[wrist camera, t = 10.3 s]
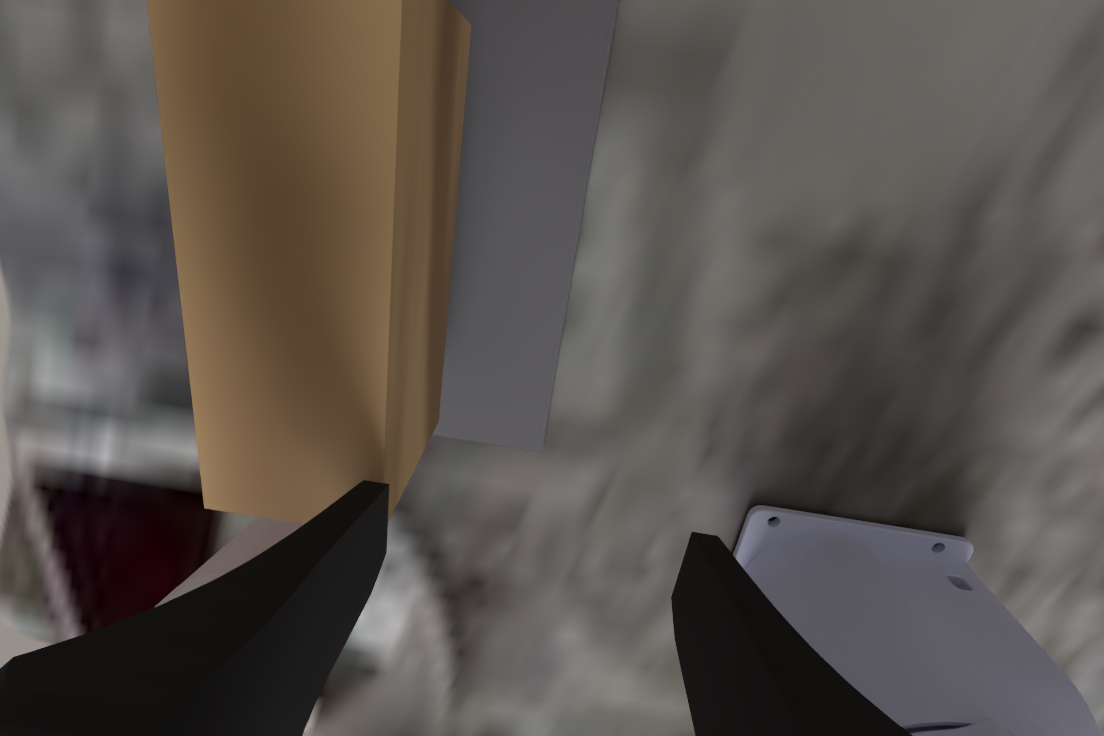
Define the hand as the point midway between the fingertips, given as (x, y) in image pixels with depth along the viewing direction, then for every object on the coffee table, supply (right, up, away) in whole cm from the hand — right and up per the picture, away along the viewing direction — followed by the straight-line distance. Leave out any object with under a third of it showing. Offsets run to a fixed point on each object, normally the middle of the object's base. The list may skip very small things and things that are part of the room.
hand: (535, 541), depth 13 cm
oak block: (-5, +8, +4) cm, 10 cm away
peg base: (-5, +9, +7) cm, 12 cm away
